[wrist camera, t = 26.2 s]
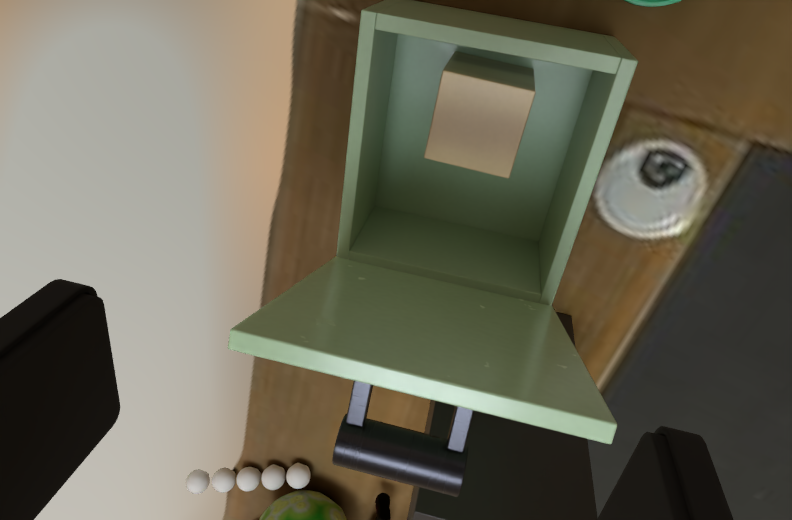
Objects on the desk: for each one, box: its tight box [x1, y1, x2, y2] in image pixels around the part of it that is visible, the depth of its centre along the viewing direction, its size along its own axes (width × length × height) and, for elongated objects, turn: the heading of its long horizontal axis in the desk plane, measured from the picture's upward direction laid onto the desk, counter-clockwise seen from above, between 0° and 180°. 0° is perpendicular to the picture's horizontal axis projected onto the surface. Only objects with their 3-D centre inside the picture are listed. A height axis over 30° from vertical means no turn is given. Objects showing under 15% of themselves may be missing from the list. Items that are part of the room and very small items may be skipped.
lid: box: [228, 257, 617, 497], centre depth 27 cm, size 15×14×5 cm
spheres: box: [186, 463, 311, 494], centre depth 59 cm, size 15×2×2 cm
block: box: [424, 51, 536, 178], centre depth 33 cm, size 5×5×6 cm
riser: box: [407, 312, 597, 520], centre depth 37 cm, size 9×9×20 cm
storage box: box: [336, 0, 638, 306], centre depth 34 cm, size 15×14×8 cm
